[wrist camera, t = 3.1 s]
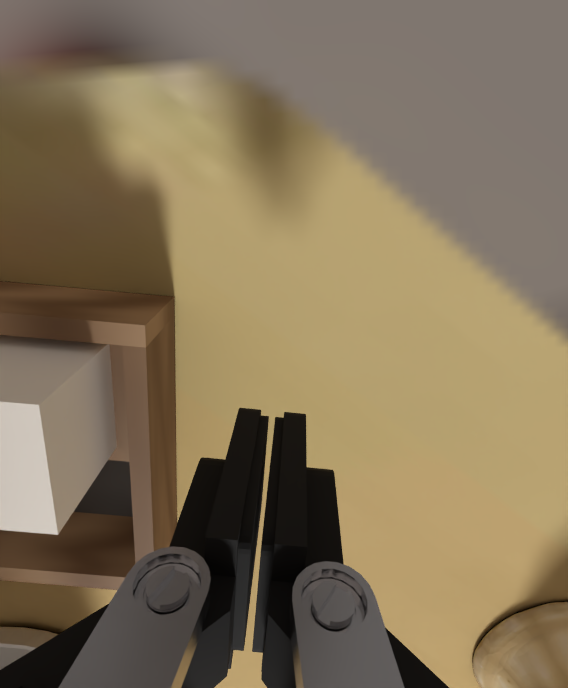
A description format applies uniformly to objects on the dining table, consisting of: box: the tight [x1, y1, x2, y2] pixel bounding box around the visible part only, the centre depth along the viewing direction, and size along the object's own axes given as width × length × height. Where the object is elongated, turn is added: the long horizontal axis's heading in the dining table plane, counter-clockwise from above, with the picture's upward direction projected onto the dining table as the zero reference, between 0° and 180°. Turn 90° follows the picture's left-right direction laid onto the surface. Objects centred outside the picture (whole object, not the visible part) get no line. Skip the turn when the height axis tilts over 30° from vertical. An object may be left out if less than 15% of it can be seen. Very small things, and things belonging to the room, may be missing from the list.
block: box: [0, 335, 117, 535], centre depth 12 cm, size 4×4×4 cm
